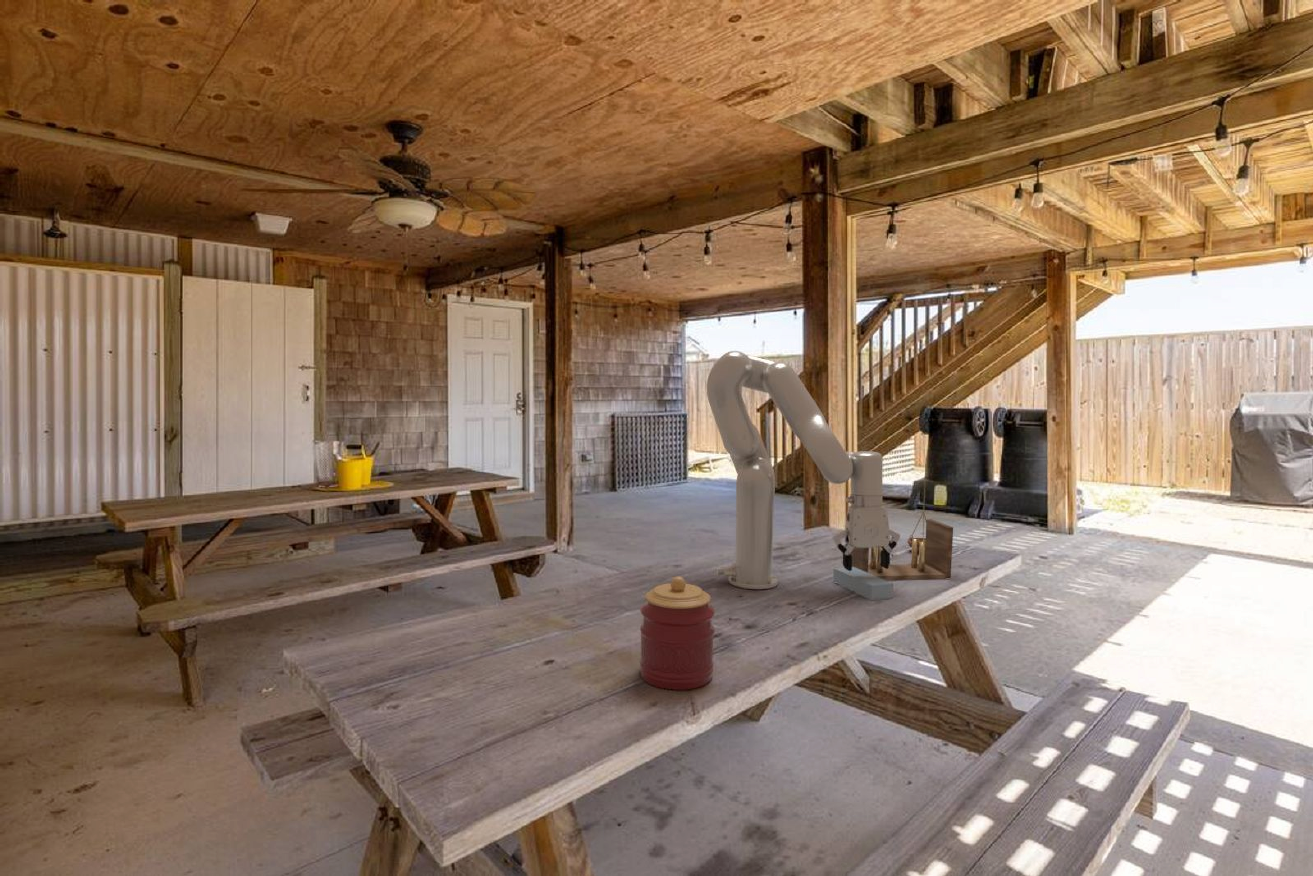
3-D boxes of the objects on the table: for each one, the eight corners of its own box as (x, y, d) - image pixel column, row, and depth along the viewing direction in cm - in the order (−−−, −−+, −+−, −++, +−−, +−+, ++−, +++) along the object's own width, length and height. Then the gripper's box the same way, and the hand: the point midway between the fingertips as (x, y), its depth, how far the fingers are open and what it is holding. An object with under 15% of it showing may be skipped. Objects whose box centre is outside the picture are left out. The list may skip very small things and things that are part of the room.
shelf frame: (862, 580, 182) (864, 528, 181) (845, 569, 193) (847, 520, 192) (950, 578, 185) (953, 527, 184) (929, 567, 196) (931, 519, 195)
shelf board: (892, 599, 168) (892, 583, 167) (871, 601, 166) (872, 585, 165) (852, 581, 183) (853, 566, 182) (833, 583, 181) (833, 568, 180)
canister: (676, 699, 112) (678, 592, 111) (624, 674, 121) (625, 575, 120) (728, 676, 121) (731, 578, 120) (676, 655, 130) (677, 563, 129)
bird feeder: (907, 554, 212) (912, 457, 209) (906, 548, 220) (910, 454, 218) (938, 557, 209) (943, 458, 207) (936, 550, 217) (940, 455, 215)
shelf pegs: (878, 573, 185) (879, 543, 185) (869, 567, 191) (870, 539, 190) (925, 572, 187) (927, 543, 186) (915, 566, 193) (916, 538, 192)
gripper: (839, 505, 167) (839, 574, 169) (906, 502, 170) (906, 570, 171) (827, 500, 175) (827, 566, 176) (892, 497, 177) (891, 563, 178)
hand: (866, 568), depth 173 cm, fingers open, 9 cm apart
